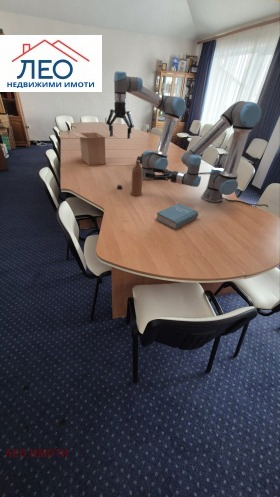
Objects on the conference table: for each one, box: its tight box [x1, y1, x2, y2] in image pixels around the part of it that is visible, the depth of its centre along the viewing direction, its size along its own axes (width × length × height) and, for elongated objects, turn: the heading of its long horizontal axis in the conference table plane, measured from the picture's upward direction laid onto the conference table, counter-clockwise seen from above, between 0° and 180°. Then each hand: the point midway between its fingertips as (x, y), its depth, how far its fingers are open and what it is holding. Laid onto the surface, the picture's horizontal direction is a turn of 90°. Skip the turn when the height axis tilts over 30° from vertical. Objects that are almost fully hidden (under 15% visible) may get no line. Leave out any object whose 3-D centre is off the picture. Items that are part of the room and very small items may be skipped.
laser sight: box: [136, 153, 143, 164], centre depth 240 cm, size 10×22×10 cm, turn 78°
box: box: [70, 129, 114, 166], centre depth 229 cm, size 44×36×27 cm
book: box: [155, 203, 199, 230], centre depth 142 cm, size 23×16×5 cm
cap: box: [116, 184, 123, 190], centre depth 179 cm, size 4×4×2 cm
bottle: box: [130, 159, 144, 197], centre depth 165 cm, size 8×8×25 cm
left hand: (119, 137), depth 157 cm, fingers open, 13 cm apart
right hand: (149, 172), depth 159 cm, fingers open, 13 cm apart
